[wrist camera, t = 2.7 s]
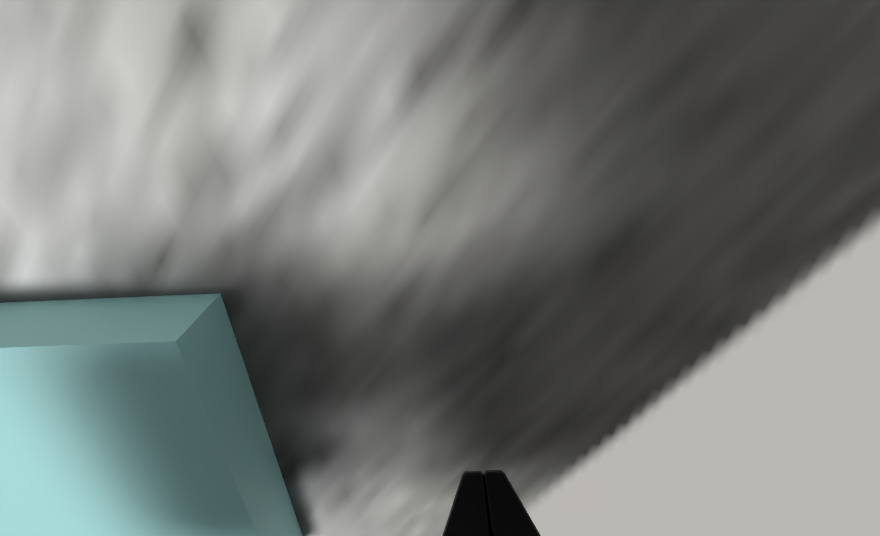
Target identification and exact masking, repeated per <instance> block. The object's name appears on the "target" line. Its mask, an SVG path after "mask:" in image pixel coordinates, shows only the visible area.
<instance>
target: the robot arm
mask: <svg viewBox="0 0 880 536" xmlns="http://www.w3.org/2000/svg"><path fill="white" fill-rule="evenodd" d="M443 536H540V534H539V532H538V530H537V529H536V527H535V525H534V523H533V522H532V520H531V518H530V516H529V515H528V513H527V511H526V509H525V508H524V506H523V504H522V502H521V501H520V499H519V497H518V495H517V494H516V492H515V490H514V488H513V487H512V485H511V483H510V481H509V480H508V478H507V476H506V475H505V473H504V472H503V471H501V470H488V471H485V472H484V473H482V472H481V471H465V472H464V473H463V474H462V477H461V480H460V483H459V486H458V489H457V492H456V495H455V499H454V502H453V505H452V508H451V511H450V514H449V517H448V520H447V523H446V526H445V530H444V533H443Z"/></svg>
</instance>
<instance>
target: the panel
mask: <svg viewBox="0 0 880 536" xmlns="http://www.w3.org/2000/svg"><path fill="white" fill-rule="evenodd" d="M0 536H302V533H301V530H300V527H299V524H298V521H297V518H296V515H295V512H294V509H293V506H292V503H291V500H290V497H289V494H288V491H287V488H286V486H285V483H284V480H283V477H282V474H281V471H280V468H279V465H278V462H277V459H276V456H275V453H274V450H273V447H272V444H271V441H270V438H269V435H268V432H267V429H266V426H265V423H264V420H263V418H262V415H261V412H260V409H259V406H258V403H257V400H256V397H255V394H254V391H253V388H252V385H251V382H250V379H249V376H248V373H247V370H246V367H245V364H244V361H243V358H242V355H241V353H240V350H239V347H238V344H237V341H236V338H235V335H234V332H233V329H232V326H231V323H230V320H229V317H228V314H227V311H226V308H225V305H224V302H223V299H222V296H221V293H217V294H193V295H170V296H146V297H122V298H98V299H74V300H51V301H27V302H3V303H0Z"/></svg>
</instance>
